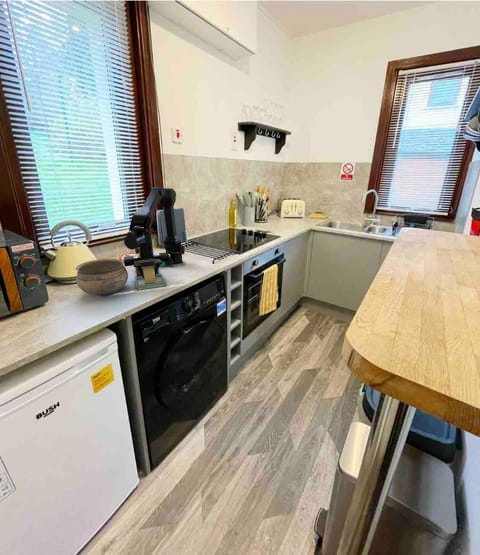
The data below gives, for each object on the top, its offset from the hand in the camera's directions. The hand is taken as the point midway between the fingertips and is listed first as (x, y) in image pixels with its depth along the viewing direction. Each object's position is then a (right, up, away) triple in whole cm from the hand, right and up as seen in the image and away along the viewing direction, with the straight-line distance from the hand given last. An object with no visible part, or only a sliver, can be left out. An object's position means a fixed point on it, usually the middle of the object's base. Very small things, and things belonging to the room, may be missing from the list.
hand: (149, 277), depth 122 cm
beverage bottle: (-14, +10, +24) cm, 30 cm away
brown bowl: (-15, -7, -8) cm, 19 cm away
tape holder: (-5, +2, +13) cm, 14 cm away
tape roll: (0, -2, +1) cm, 2 cm away
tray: (0, -3, +1) cm, 3 cm away
